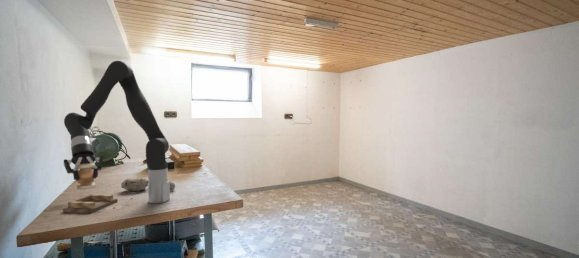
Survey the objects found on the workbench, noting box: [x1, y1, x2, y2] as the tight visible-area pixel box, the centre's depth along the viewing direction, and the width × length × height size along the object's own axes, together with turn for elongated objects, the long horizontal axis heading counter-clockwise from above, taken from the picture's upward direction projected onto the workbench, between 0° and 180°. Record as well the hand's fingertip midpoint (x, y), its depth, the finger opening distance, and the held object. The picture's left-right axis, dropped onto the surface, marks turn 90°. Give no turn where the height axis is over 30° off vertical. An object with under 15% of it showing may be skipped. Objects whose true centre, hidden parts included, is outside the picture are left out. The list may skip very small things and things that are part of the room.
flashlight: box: [168, 180, 176, 192], centre depth 157 cm, size 15×5×5 cm, turn 44°
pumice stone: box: [120, 178, 148, 192], centre depth 153 cm, size 14×12×8 cm
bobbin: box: [76, 162, 96, 191], centre depth 109 cm, size 6×6×10 cm
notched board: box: [62, 193, 119, 214], centre depth 125 cm, size 14×16×4 cm
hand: (86, 178), depth 108 cm, fingers closed on bobbin, 5 cm apart
